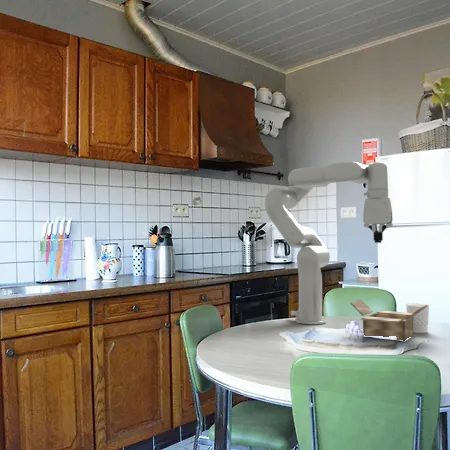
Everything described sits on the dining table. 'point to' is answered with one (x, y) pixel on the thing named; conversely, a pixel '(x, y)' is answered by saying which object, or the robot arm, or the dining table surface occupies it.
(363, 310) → the flap
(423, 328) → the white cup
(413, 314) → the flap
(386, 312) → the carton
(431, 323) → the dining table surface
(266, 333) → the dining table surface
